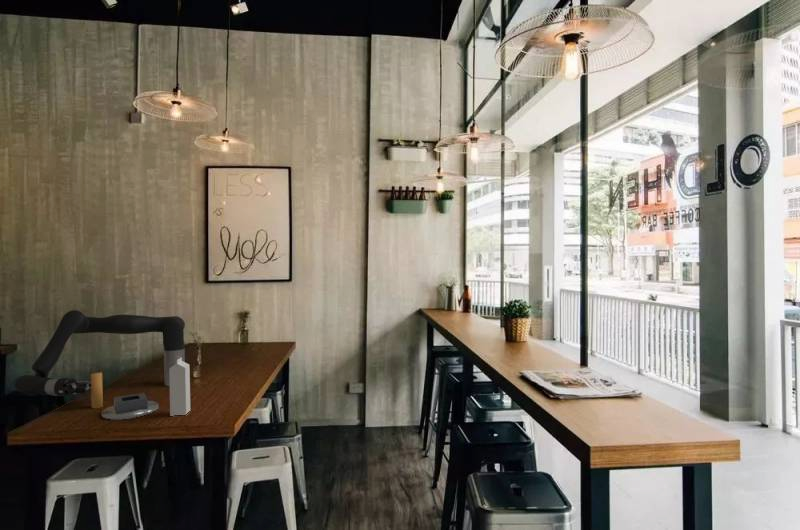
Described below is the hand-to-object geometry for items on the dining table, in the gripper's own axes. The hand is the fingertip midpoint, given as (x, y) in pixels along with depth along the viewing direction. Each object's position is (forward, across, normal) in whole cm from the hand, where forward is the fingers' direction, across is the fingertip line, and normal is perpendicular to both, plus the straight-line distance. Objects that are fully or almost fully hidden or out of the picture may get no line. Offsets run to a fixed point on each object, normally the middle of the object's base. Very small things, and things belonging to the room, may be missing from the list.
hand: (93, 387), depth 199 cm
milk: (+43, -3, +8) cm, 43 cm away
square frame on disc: (+21, -4, +8) cm, 22 cm away
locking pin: (+2, 0, +8) cm, 8 cm away
